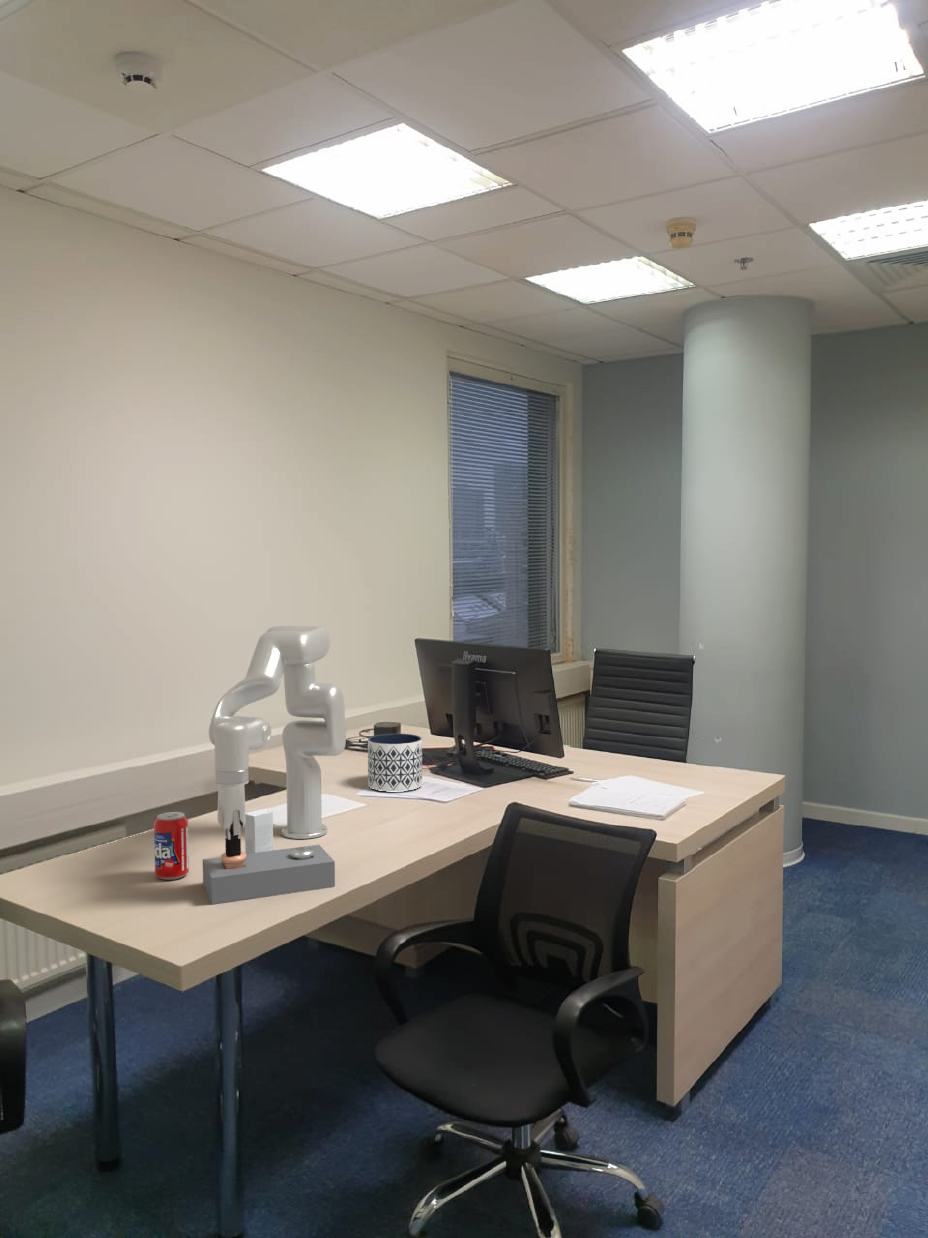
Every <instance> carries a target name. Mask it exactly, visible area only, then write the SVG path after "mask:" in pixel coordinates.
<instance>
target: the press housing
mask: <svg viewBox="0 0 928 1238" xmlns="http://www.w3.org/2000/svg"><path fill="white" fill-rule="evenodd" d="M299 847H300V846H296V848H299ZM303 847H309V848H312V849H314V856H313V857H312V858H308V859H299V860H294V859H293V858H291V857H290V850H292V849H294V848H295V847H290V848H289V847H288V848H283V849H274V850H273V851H265V852H257V853H249V854H246V860H245V861H244V867H239V868H232V869H225V868H224V866H223V863H222V862H221V856H220V857H211V858H204V859H202V885H203V887H204V889H205V892H206V894H207V896H208V898H209V900H210V903H211V905H213V906H214V905H219V904H226V903H232V902H238V901H239V900H240V901H246V900H253V898H254V899H260V898H267V897H272V896H271V895H274V896H279V895H278V894H281V895H286V894H285V893H288V894H292V893H291V892H294V893H299V892H298V891H301V892H307V891H306V890H308V891H313V890H312V889H315V890H319V889H318V888H322V889H326V888H325V887H329V888H334V886H335V887H336V874H335V873H336V869H335V868H336V867H335V866H336V863H335V862H336V861H335V860H334V858H332V856H331V855H329V853H328V852H327V851H326V850H325V849H324V848H323V847H322V846H321V845H320V844H315V845H313V844H312V845H305V846H303ZM266 896H267V897H266ZM259 897H260V898H259Z"/></svg>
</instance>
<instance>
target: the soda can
mask: <svg viewBox="0 0 928 1238" xmlns="http://www.w3.org/2000/svg"><path fill="white" fill-rule="evenodd" d="M153 843H154V844H153V846H154V847H153V849H154V851H153V852H154V853H153V855H154V875H155V877H157V878H159V879H160V880H163V881H174V880H179V879H182V878H184V876H186V875H187V874H189V871H190V856H189V853H190V851H189V850H190V849H189V820H188V819H187V818H186V814H185V813H184V812H180V811H171V812H170V811H169V812H162V813H160V814H157V816H156V819H155V821H154V823H153Z"/></svg>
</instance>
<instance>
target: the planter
mask: <svg viewBox="0 0 928 1238" xmlns="http://www.w3.org/2000/svg"><path fill="white" fill-rule="evenodd" d="M421 785H422V786H423V738H422V736H419V735H417V734H410V733H385V734H384V733H383V734H377V735H373V736H370V737H368V738H367V786H368V788H369V787H371V788H374V789H377V790H382V791H402V790H410V789H414V788H417V787H419V786H421ZM422 786H421V787H422ZM371 788H370V789H371Z"/></svg>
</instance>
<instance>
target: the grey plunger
mask: <svg viewBox="0 0 928 1238" xmlns="http://www.w3.org/2000/svg"><path fill="white" fill-rule="evenodd" d="M298 847H299V848H297V847H293V848H294V849H292V850H290V857H291V858H293V859H294V860H299V859H308V858H312V857H313V856H314V849H312V848H309V847H304V846H298Z"/></svg>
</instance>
